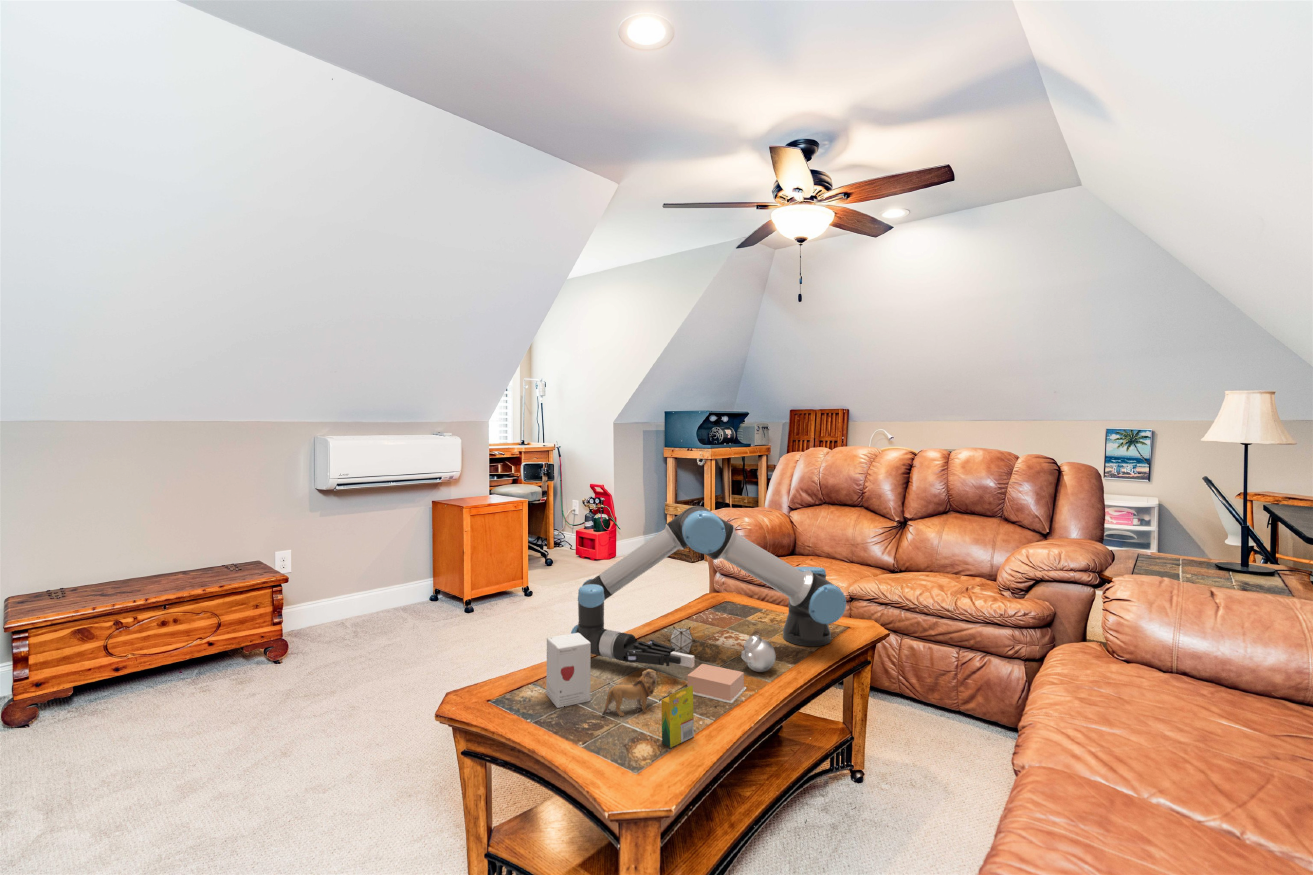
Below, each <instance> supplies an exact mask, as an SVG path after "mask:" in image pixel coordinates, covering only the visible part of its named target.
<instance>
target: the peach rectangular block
mask: <svg viewBox="0 0 1313 875" xmlns="http://www.w3.org/2000/svg"><path fill="white" fill-rule="evenodd" d="M744 678H745V672H742V671H739V670H736V669H735V670H734V669H729V668H724V667H720V666H715V665H710V664H705V663H702V664H700V665H699V666H698V667H696V668H694V669H693V670H692V671H691V672H690V673H689V674H687V683H686V684H687V686H686V688H687V687H689V686H692V685H693V692H695V693H699V694H703V695H708V696H712V697H716V698H720V699H724V700H729V701H731V700H732V699H733V698H734V697H735V696H736V695H737V694H738V693H739V692H740V691H741V690H742V689H743V688H744V687H745V682H744V681H745V679H744Z"/></svg>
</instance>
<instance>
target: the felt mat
mask: <svg viewBox="0 0 1313 875" xmlns="http://www.w3.org/2000/svg"><path fill="white" fill-rule="evenodd" d="M745 691H747V687H746V686H744V688H743V689H742V690H741V691H740V692H739V693H738V694H737V695H736V696H735V697H734V698H733V699H732V700H731V701H729V700H724V699H720V698H716V697H712V696H708V695H703V694H699V693H695V692H693V696H694V695H695V696H699V697H703V698H707V699H711V700H716V701H719V702H723V703H728V704H733V703H734V702H735V701H736V700H737V699H738V698H739V697H740V696H741V695H742V694H743V693H744V692H745Z"/></svg>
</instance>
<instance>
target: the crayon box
mask: <svg viewBox="0 0 1313 875" xmlns="http://www.w3.org/2000/svg"><path fill="white" fill-rule="evenodd" d="M660 701H661V702H660V703H661V706H660V707H661V743H662V744H663V745H664V746H666V747H668V748H669V749H672V748H674V747H675V746H677V745H679V744H681V743H684V742H686V741H688V740H689V739H693V738H694V737H695V728H694V727H695V726H694V725H695V724H694V723H695V722H694V719H695V718H694V694H693V685H692V686H689V687H687V686H686V687H684V688H682V689H680V690H676V691H673V692H672V693H670V694H668V696H667V697H665V698H663V699H661V700H660Z"/></svg>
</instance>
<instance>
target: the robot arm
mask: <svg viewBox="0 0 1313 875" xmlns="http://www.w3.org/2000/svg"><path fill="white" fill-rule="evenodd" d="M687 547H689V548H690V549H691V550H693V551H694V552H696V553H700V554H703V555H705V556H706V557H709V558H710V559H712V560H713V561H716V560H720V559H721V560H724V561H726V562H727V563H729V564H730V565H733V566H735V567H736V568H738V569H739V570H741V571H743V572H745V573H746V574H748V575H749V576H751V577H753V578H755V579H756V580H758V581H760V582H762V583H764V584H765V585H767V586H768V587H771V588H773V590H775V591H777V592H779V593H781V594H782V595H784V596H785V597H787V598H788V613H787V617H786V620H785V623H784V626H783V630H782V638H783V640H785V641H786V642H788V643H791V644H794V645H796V646H803V647H821V646H822V647H823V646H826V645H828V644H829V643H831V642H832V632H831V629H830V626H829V625H831V624H833V623H836V622H838V621H839V620H840V619H841V618H842V617H843V615H844V614H845V611H846V608H847V598H846V595H845V594H844V592H843V591H842V590H841V588H840V587H839V586H838V585H835V584H833V583H832V582H831V581H829V580H828V579H827V572H826V569H825V568H824V567H820V566H818V567H817V566H793V565H791V564H790V563H789V562H788V563H787V562H786V561H784V560H783V559H781V558H779V557H778V556H775V554H772V552H771V553H770V552H768V550H766V549H764V548H762V547H760V546H759V545H757V544H756V543H754V542H752V541H750V540H749V539H747V538H746V537H744V536H742V535H740V534H739V533H737V532H736V529H735V526H734V525H733V524H731V523H730V522H728V521H726V520H725V519H723V518H721V517H719V516H718V515H716V514H715V513H713V512H712V511H711V510H709V509H708V508H707V507H704V506H700V505H694V506H690V507H688V508H686V509H684V510H683V511H682V512H681V513H679V514H678V515H676V516H675V517H674V518H673V519H671V520H670V521H668V522H667V523H665V528H664V529H662V530H661V531H659V532H658V533H656V534H655V535H654V536H653V537H652V538H650V539H649V540H647V541H645V542H644V543H642V544H641V545H640V546H638V547H636V548H635V549H634V550H632V551H631V552H630V553H628V554H627V555H626V556H624V557H623V558H621V559H620V560H618V561H617V562H615V563H614V564H612V565H611V566H610V567H608V568H606V569H605V570H604V571H602V572H601V573H599V575H596V576H595V577H594V578H590V579H587V580H586V581H584V582H583V584H582V585H581V586H580V587H579V588H578V593H577V595H578V596H577V606H578V608H577V610H578V612H577V614H578V622H577V623H578V624H576V625H574V627H573V628H572V629H571V632H570V634H573V633H580V634H581V635H582V636H583V637H584V638H585V639H587V640H588V641H589V642H590V643H591V655H594V656H599V657H602V658H608V659H609V660H616V661H620V662H625V663H629V664H632V663H633V664H635V663H639V664H646V665H655V666H665V667H670V664H674V665H678V666H682V667H685V668H686V667H687V668H691V669H692V668H694V667H695V655H692V654H690V655H688V653H678V652H675V648H673V647H672V646H671V645H667V644H663V643H662V642H658V641H656V640H654V639H649V642H645V641H643V640H637V638H636V636H635V635H634V634H632V633H627V632H621V631H617V630H612V629H607V628H605V601H606V600H608V599H609V598H610V597H611V596H613V595H614V594H616V593H617V592H618V591H620V590H621V589H623V588H624V587H626V586H627V585H629V584H630V583H632V582H633V581H634V580H636V579H637V578H639V577H640V576H642V575H644V574H645V573H646V572H647V571H649V570H651V569H652V568H653V567H654V566H656V565H658V564H659V563H660V562H662V561H663V560H665V559H667V558H668V557H670V555H672V554H673V553H675V552H676V551H678V550H685V549H686V548H687Z"/></svg>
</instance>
